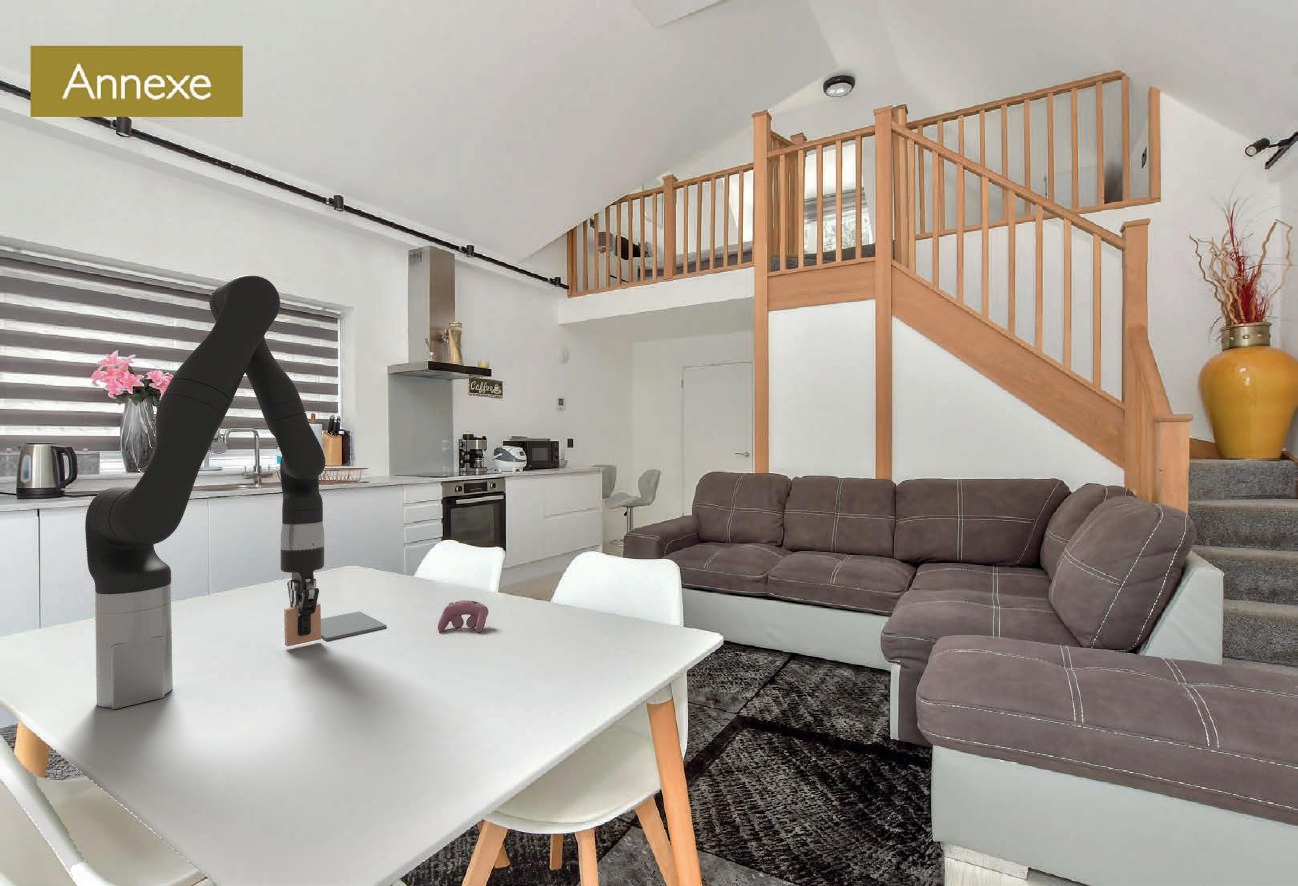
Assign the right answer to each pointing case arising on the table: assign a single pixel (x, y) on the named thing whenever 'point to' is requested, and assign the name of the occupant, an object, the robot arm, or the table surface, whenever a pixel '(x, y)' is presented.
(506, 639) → the table surface
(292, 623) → the tile
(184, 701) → the table surface
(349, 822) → the table surface
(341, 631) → the mat
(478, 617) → the video game controller
